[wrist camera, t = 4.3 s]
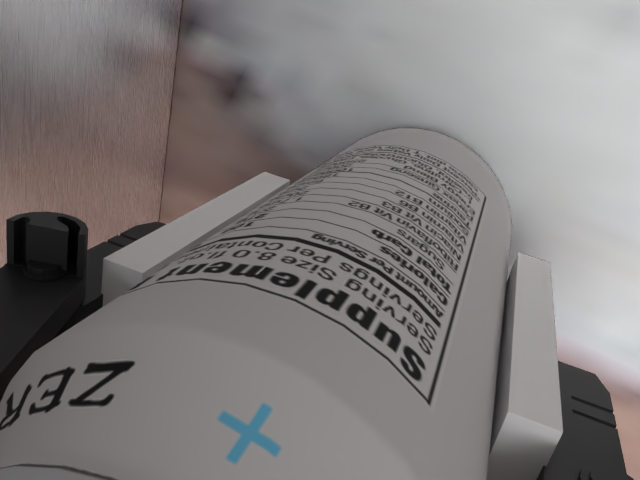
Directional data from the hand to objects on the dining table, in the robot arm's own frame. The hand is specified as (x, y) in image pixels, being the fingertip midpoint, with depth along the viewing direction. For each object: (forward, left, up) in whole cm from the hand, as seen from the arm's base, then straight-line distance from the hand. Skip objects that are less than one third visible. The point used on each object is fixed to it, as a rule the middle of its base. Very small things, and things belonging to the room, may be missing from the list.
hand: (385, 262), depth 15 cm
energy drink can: (0, 0, -4) cm, 4 cm away
